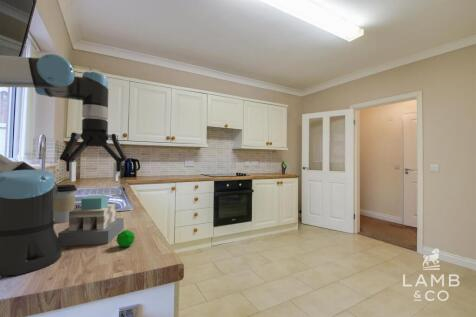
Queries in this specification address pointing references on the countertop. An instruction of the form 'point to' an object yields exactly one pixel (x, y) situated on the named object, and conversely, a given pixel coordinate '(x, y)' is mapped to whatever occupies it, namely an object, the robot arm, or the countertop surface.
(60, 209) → the coffee cup
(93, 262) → the countertop surface
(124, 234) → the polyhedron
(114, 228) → the dock
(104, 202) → the teal block
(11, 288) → the countertop surface
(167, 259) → the countertop surface
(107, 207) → the pallet
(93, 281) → the countertop surface
